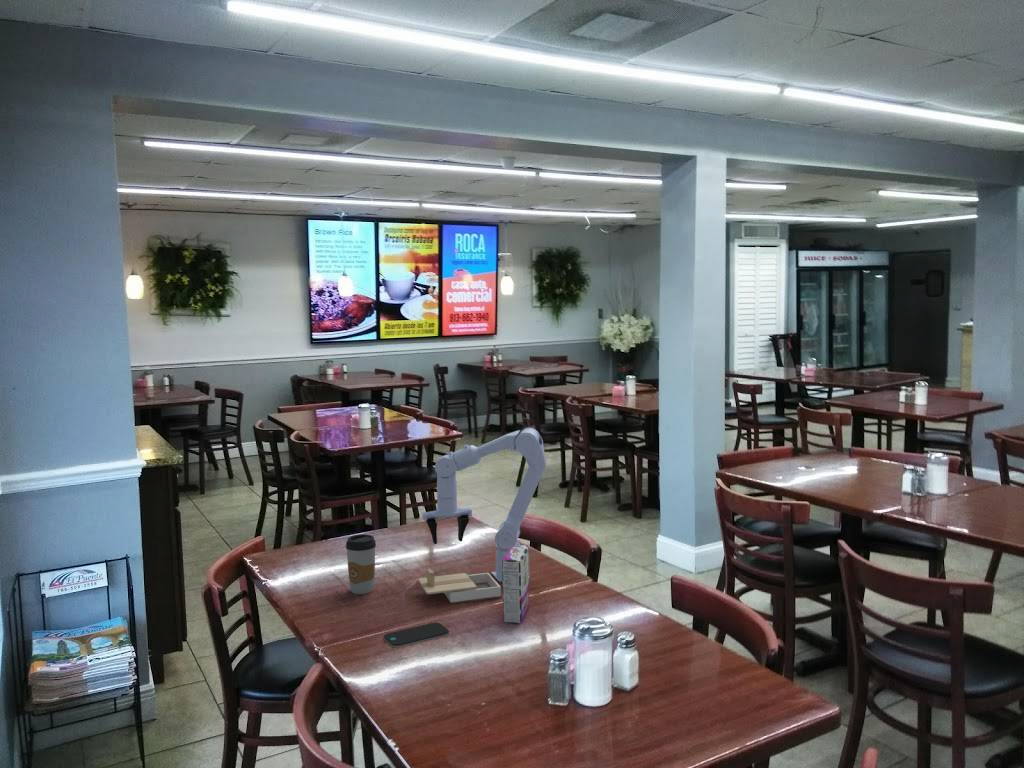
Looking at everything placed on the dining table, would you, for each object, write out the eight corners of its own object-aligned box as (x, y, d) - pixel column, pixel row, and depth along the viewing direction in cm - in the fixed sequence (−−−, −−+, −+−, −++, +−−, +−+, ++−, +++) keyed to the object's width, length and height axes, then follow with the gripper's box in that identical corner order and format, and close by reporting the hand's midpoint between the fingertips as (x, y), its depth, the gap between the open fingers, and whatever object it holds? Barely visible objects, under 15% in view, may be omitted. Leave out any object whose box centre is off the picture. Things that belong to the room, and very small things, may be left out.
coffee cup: (340, 592, 219) (339, 540, 217) (359, 583, 226) (358, 532, 224) (364, 597, 215) (363, 544, 213) (383, 588, 222) (382, 536, 221)
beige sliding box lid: (465, 574, 223) (465, 559, 223) (476, 588, 212) (476, 572, 212) (418, 580, 219) (417, 565, 218) (427, 594, 208) (426, 578, 207)
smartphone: (381, 634, 189) (437, 621, 197) (381, 638, 190) (437, 624, 197) (393, 646, 183) (451, 631, 191) (393, 649, 183) (451, 635, 191)
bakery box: (488, 582, 226) (488, 572, 225) (500, 597, 214) (500, 586, 214) (440, 588, 221) (440, 578, 221) (450, 603, 210) (450, 592, 210)
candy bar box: (511, 606, 208) (510, 545, 206) (529, 607, 207) (529, 546, 205) (502, 623, 197) (501, 559, 195) (521, 624, 196) (521, 560, 194)
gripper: (467, 491, 237) (467, 535, 238) (419, 495, 232) (420, 540, 233) (473, 496, 230) (474, 542, 231) (424, 501, 225) (425, 547, 227)
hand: (447, 541), depth 232 cm, fingers open, 7 cm apart
